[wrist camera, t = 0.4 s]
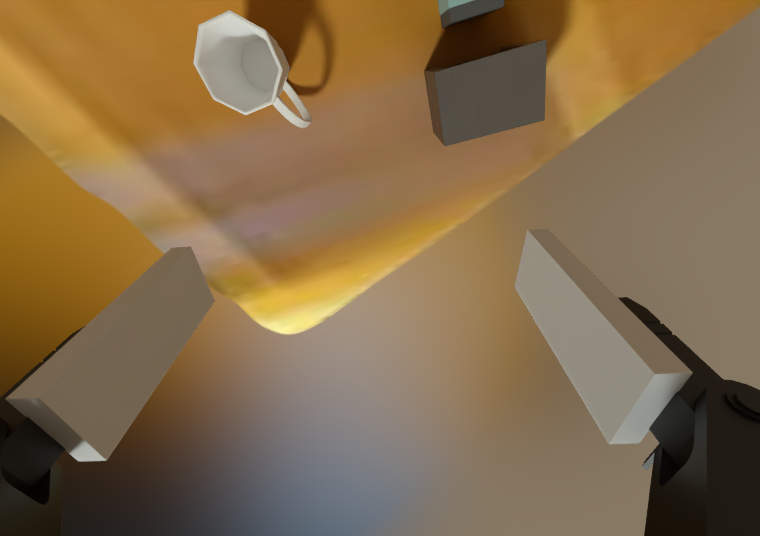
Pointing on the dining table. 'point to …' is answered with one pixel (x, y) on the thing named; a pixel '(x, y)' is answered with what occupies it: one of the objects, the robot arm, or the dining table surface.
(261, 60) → the cup
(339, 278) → the dining table surface
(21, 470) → the robot arm
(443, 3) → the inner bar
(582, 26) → the dining table surface
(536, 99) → the socket
